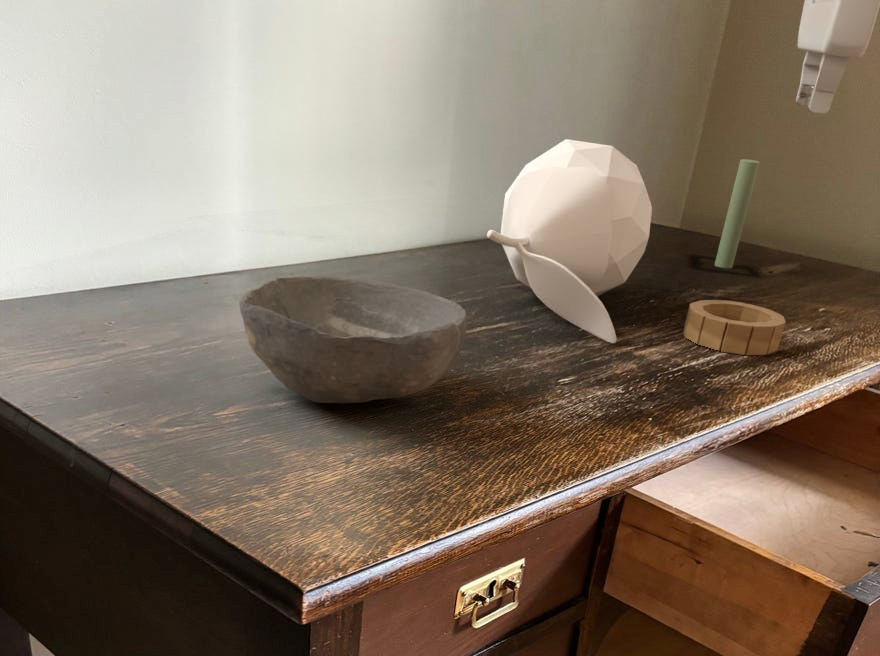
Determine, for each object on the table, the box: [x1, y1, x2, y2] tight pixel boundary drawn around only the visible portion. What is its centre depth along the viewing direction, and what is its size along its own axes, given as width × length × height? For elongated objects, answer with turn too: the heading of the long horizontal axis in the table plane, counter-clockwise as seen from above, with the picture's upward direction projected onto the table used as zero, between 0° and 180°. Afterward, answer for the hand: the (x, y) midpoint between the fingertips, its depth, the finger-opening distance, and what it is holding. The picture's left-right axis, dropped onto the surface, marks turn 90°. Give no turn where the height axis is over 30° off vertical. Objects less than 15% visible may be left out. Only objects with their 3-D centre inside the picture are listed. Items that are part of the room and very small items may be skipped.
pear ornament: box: [486, 138, 653, 344], centre depth 105 cm, size 16×22×28 cm
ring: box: [682, 299, 787, 356], centre depth 103 cm, size 10×10×3 cm
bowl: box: [239, 275, 468, 404], centre depth 78 cm, size 18×18×8 cm
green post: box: [714, 158, 761, 269], centre depth 128 cm, size 8×8×14 cm
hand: (810, 109), depth 94 cm, fingers open, 8 cm apart
